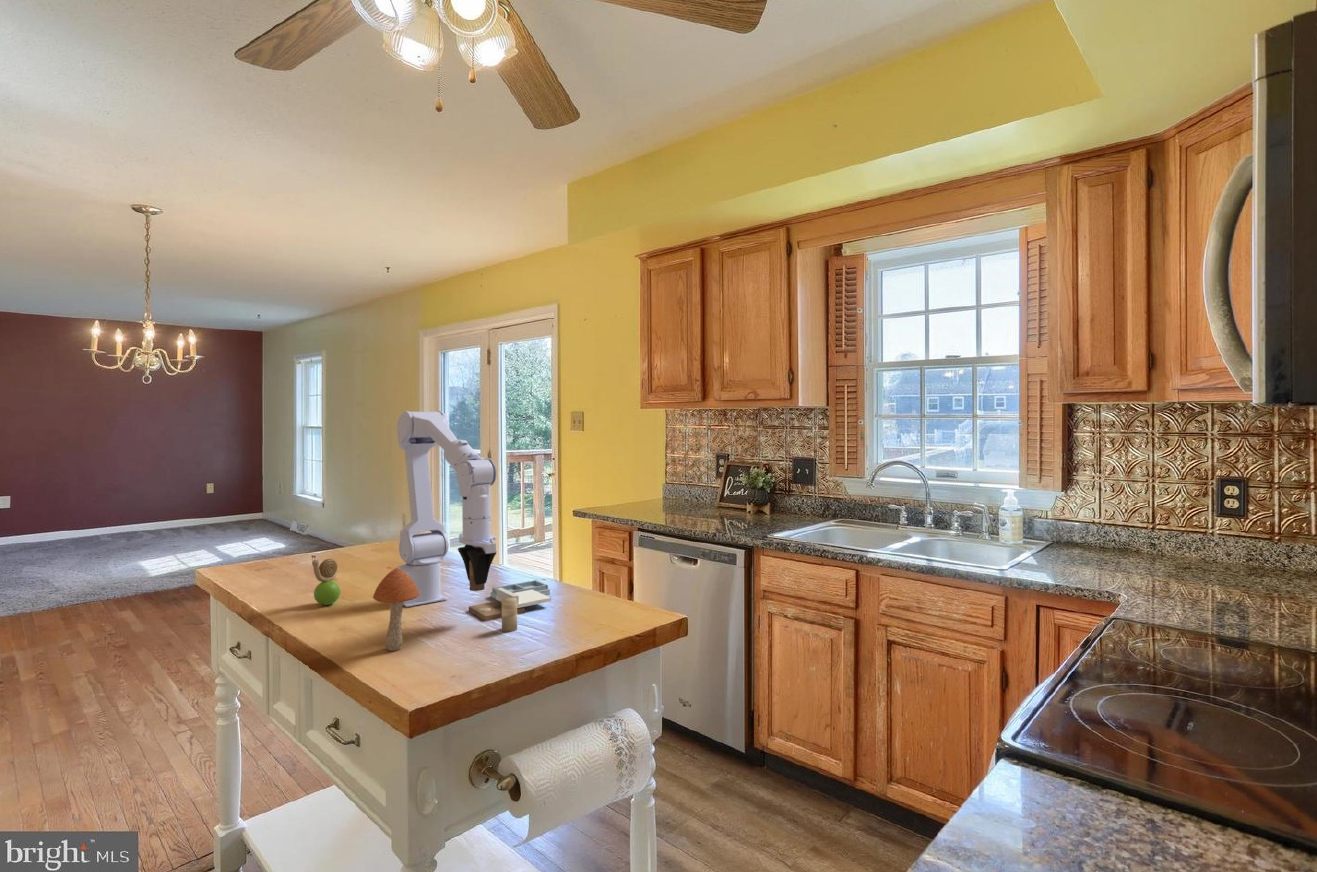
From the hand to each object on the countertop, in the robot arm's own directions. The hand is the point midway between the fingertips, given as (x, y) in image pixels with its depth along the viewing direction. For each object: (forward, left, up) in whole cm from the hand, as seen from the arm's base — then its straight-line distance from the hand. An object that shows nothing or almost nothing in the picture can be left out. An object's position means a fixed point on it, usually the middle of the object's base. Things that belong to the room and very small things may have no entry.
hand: (477, 581), depth 135 cm
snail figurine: (-22, +33, -9) cm, 41 cm away
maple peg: (+3, -9, -8) cm, 13 cm away
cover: (+12, +4, -7) cm, 15 cm away
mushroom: (-18, -6, -9) cm, 21 cm away
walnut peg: (0, 0, -2) cm, 2 cm away
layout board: (+6, +4, -8) cm, 11 cm away
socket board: (+16, +12, -8) cm, 22 cm away
